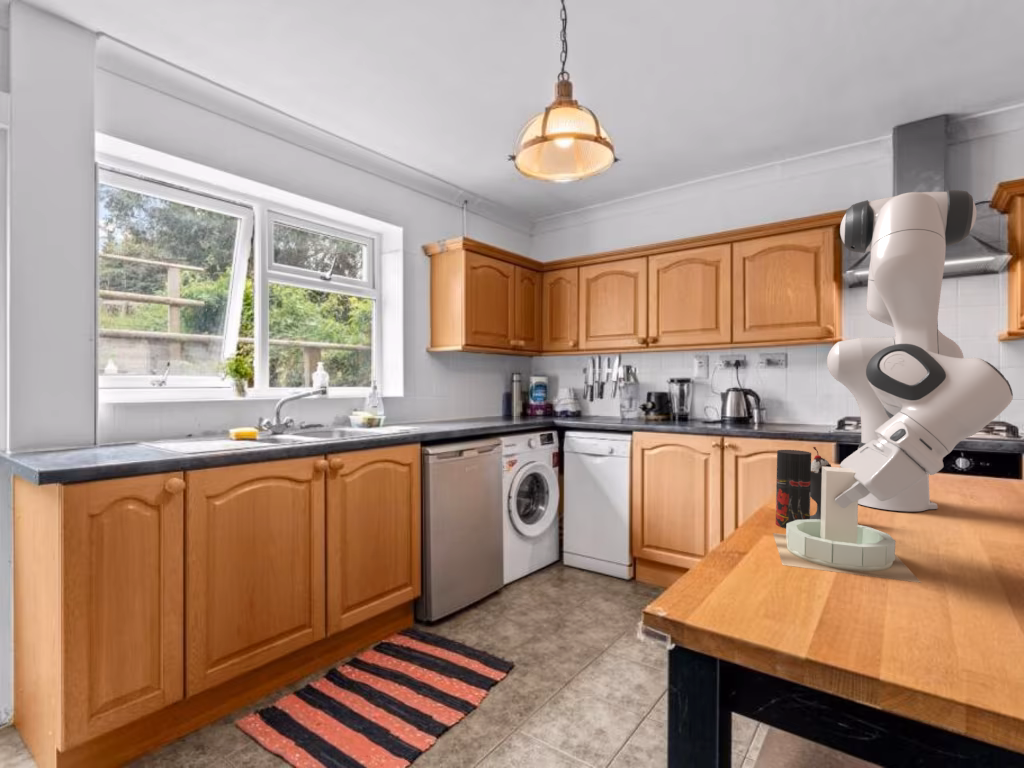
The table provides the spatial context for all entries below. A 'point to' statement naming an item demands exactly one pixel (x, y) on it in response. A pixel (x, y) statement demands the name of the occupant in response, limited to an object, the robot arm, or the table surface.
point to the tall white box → (833, 517)
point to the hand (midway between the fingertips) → (834, 499)
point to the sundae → (817, 482)
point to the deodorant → (793, 486)
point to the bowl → (841, 547)
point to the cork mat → (895, 572)
